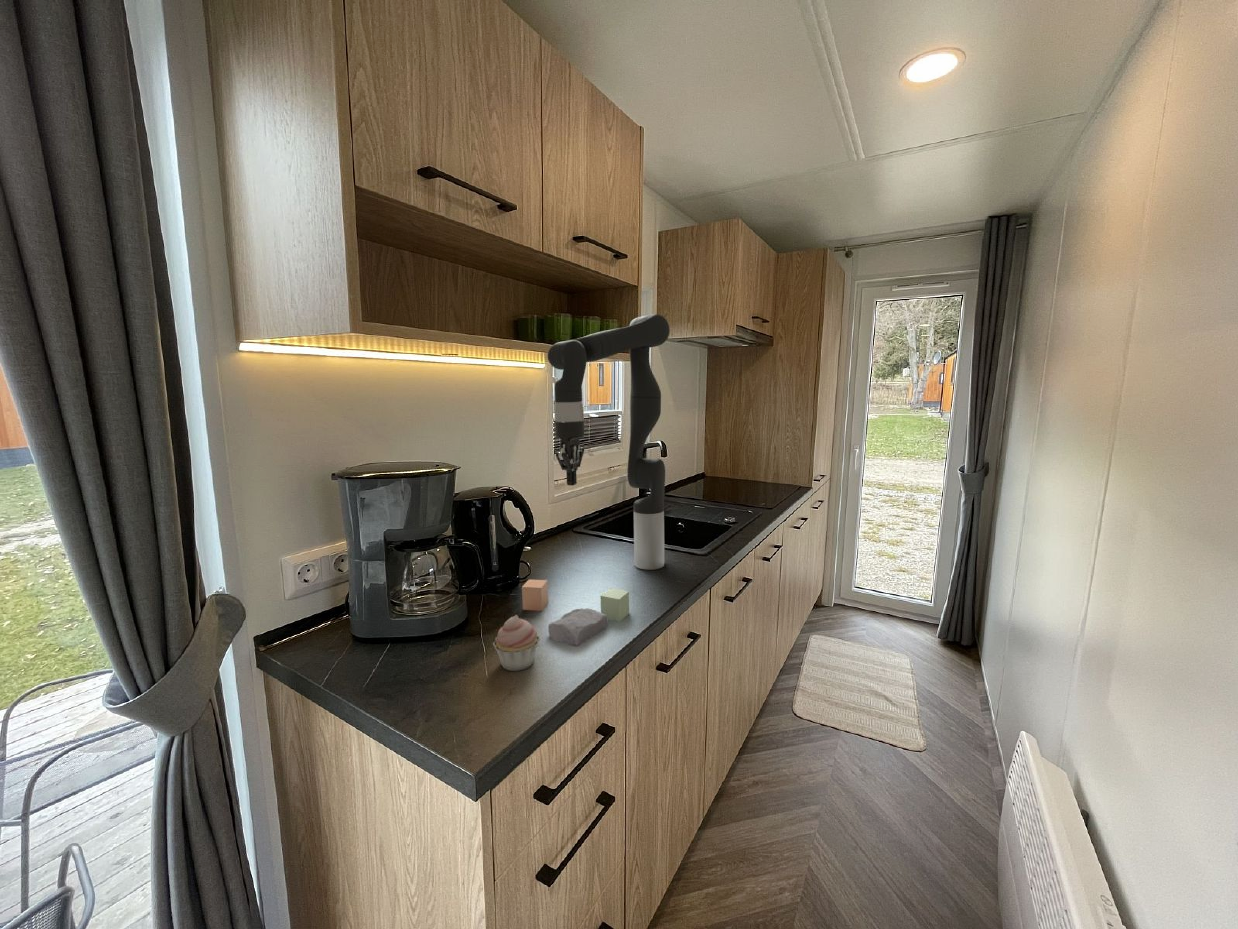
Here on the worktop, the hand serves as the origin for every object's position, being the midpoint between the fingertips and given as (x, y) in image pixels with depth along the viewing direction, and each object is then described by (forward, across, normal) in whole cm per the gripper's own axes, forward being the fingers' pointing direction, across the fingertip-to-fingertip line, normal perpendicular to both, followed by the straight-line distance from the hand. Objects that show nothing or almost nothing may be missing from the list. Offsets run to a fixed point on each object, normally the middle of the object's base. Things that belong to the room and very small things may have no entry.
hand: (571, 484), depth 133 cm
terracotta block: (+29, +13, -5) cm, 32 cm away
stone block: (+30, +22, +10) cm, 38 cm away
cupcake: (+29, +38, +5) cm, 48 cm away
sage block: (+29, +12, +16) cm, 35 cm away
